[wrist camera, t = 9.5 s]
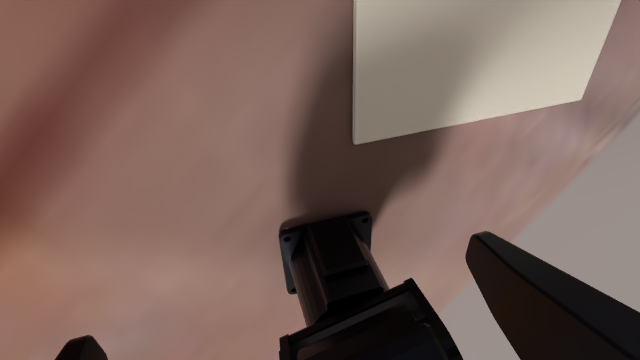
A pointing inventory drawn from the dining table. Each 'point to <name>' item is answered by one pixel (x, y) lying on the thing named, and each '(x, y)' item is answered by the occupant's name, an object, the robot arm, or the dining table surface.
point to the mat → (469, 60)
